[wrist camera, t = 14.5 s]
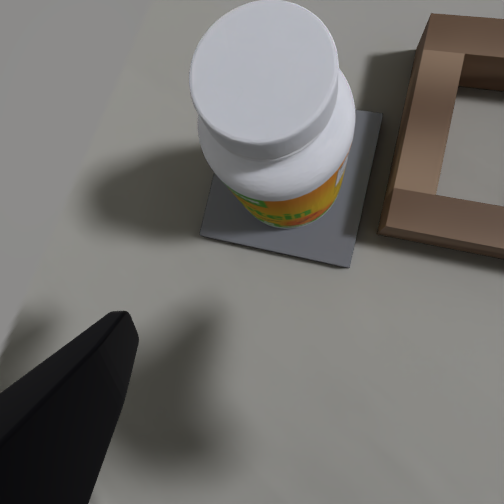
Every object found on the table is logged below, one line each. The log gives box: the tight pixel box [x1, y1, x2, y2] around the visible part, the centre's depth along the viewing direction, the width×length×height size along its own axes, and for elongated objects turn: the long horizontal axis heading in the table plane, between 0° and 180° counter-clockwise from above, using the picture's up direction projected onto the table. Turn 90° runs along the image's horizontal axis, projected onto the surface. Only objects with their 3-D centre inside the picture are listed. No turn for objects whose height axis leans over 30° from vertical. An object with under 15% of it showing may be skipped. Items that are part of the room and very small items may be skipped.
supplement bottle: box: [189, 0, 355, 229], centre depth 14 cm, size 5×5×10 cm
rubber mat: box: [199, 110, 383, 268], centre depth 19 cm, size 8×8×1 cm
